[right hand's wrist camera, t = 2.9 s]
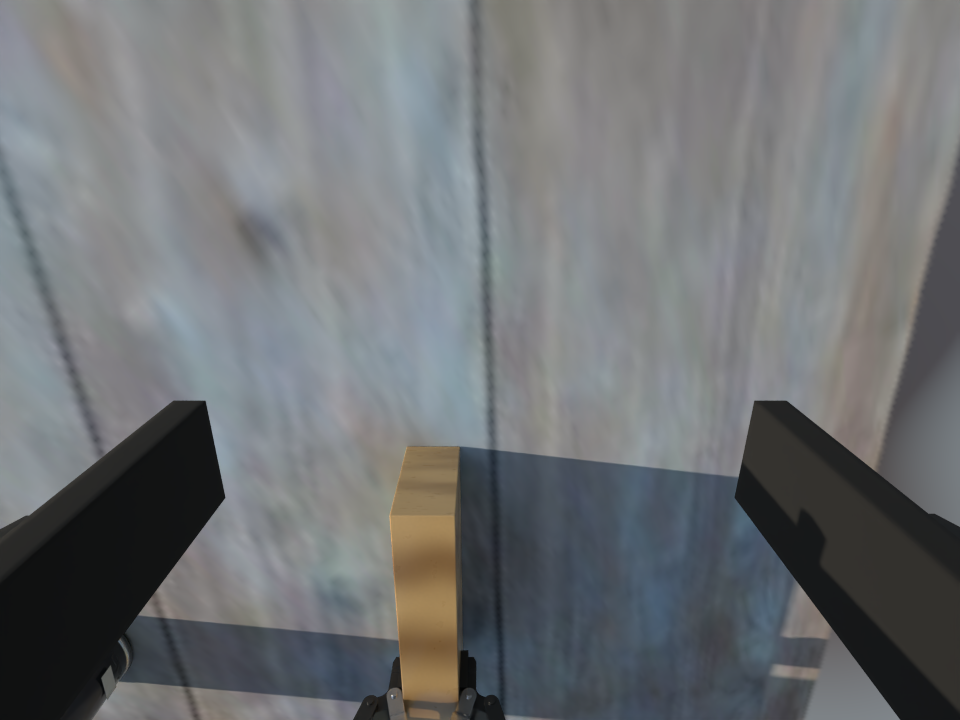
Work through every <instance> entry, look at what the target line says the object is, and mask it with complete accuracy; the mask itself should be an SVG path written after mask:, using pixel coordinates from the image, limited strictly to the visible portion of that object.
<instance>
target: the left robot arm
mask: <svg viewBox="0 0 960 720" xmlns="http://www.w3.org/2000/svg"><path fill="white" fill-rule="evenodd" d="M131 662H132V649H131V646H130V644H129V642H128V640H127V639H126V637H125V636H124V635H123V636H122V637H121V638H120V640H119V641H118V642H117V644H116V645H115V646H114V648H113V649H112V650H111V652H110V653H109V654H108V656H107V657H106V658H105V660H104V661H103V662H102V664H101V665H100V666H99V668H98V669H97V670H96V672H95V673H94V674H93V676H92V677H91V678H90V680H89V681H88V682H87V684H86V685H85V686H84V688H83V689H82V690H81V692H80V693H79V694H78V696H77V697H76V699H75V700H74V701H73V703H72V704H71V705H70V707H69V708H68V709H67V711H66V712H65V713H64V715H63V716H62V717H61V719H60V720H92V719H93V718H94V716H95V715H96V713H97V712H98V710H99V709H100V707H101V706H102V705H103V703H104V702H105V700H106V699H107V700H108V698H109V697H110V695H111V694H112V692H113V691H114V689H115V688H116V684H117V683H118V681H119V680H120V679H121V678H122V677H123V676H124V674H125V673H126V672H127V670H128V669H129V667H130V665H131ZM459 695H460V699H459V702H458V705H457V707H456V710H455V711H454V712H453V714H452V716H451V719H450V720H505V717H504V714H503V711H502V708H501V705H500V702H499V700H498V698H497V697H496V696H494V695H488V696H487V697H483V696H481V695H479V694H478V692H477V691H476V661H475V658H474V657H468V650H461V657H460V683H459ZM353 720H407V715H406V711H405V708H404V702H403V692H402V678H401V664H400V657H396V659H395V660H394V662H393V667H392V673H391V679H390V685H389V689H388V691H387V693H386V694H385V695H383V696H381V697H376V696H374V695H370V696H367V697H366V698H365V699H364V700H363V702H362V704H361V706H360V708H359V710H358V712H357V714H356V715H355V717H354V719H353Z"/></svg>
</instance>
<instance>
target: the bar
mask: <svg viewBox="0 0 960 720" xmlns="http://www.w3.org/2000/svg"><path fill="white" fill-rule="evenodd" d="M390 529H391V542H392V556H393V569H394V583H395V597H396V610H397V624H398V637H399V651H400V664H401V678H402V692H403V702H404V708H405V711H406V715H407V720H450V719H451V716H452V714H453V712H454V711H455V710H456V707H457V705H458V702H459V699H460V695H459V683H460V657H461V650H463V619H462V553H461V488H460V447H407V448H406V452H405V456H404V460H403V464H402V468H401V472H400V476H399V480H398V484H397V488H396V492H395V496H394V500H393V504H392V508H391V512H390Z"/></svg>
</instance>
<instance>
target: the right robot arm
mask: <svg viewBox="0 0 960 720" xmlns="http://www.w3.org/2000/svg"><path fill="white" fill-rule="evenodd" d="M224 499H225V493H224V489H223V484H222V479H221V474H220V469H219V464H218V459H217V454H216V450H215V445H214V440H213V435H212V430H211V425H210V420H209V415H208V411H207V406H206V401H173V402H171V403H170V404H169V405H168V406H166V407H165V408H164V409H162V410H161V411H160V412H159V413H157V414H156V415H155V416H154V417H152V418H151V419H150V420H149V421H147V422H146V423H145V424H144V425H142V426H141V427H140V428H139V429H137V430H136V431H135V432H134V433H132V434H131V435H130V436H129V437H127V438H126V439H125V440H124V441H122V442H121V443H120V444H119V445H117V446H116V447H115V448H114V449H112V450H111V451H110V452H109V453H107V454H106V455H105V456H104V457H102V458H101V459H100V460H99V461H97V462H96V463H95V464H93V465H92V466H91V467H90V468H88V469H87V470H86V471H85V472H83V473H82V474H81V475H80V476H78V477H77V478H76V479H75V480H73V481H72V482H71V483H70V484H68V485H67V486H66V487H65V488H63V489H62V490H61V491H60V492H58V493H57V494H56V495H55V496H53V497H52V498H51V499H50V500H48V501H47V502H46V503H45V504H43V505H42V506H41V507H40V508H38V509H37V510H36V511H35V512H33V513H32V514H31V515H30V516H25V517H23V518H21V519H19V520H17V521H15V522H13V523H11V524H9V525H8V526H6V527H4V528H2V529H0V720H60V719H61V717H62V716H63V715H64V713H65V712H66V711H67V709H68V708H69V707H70V705H71V704H72V703H73V701H74V700H75V699H76V697H77V696H78V694H79V693H80V692H81V690H82V689H83V688H84V686H85V685H86V684H87V682H88V681H89V680H90V678H91V677H92V676H93V674H94V673H95V672H96V670H97V669H98V668H99V666H100V665H101V664H102V662H103V661H104V660H105V658H106V657H107V656H108V654H109V653H110V652H111V650H112V649H113V648H114V646H115V645H116V644H117V642H118V641H119V640H120V638H121V637H122V636H123V634H124V633H125V632H126V630H127V629H128V627H129V626H130V625H131V623H132V622H133V621H134V619H135V618H136V617H137V615H138V614H139V613H140V611H141V610H142V609H143V607H144V606H145V605H146V603H147V602H148V601H149V599H150V598H151V597H152V595H153V594H154V593H155V591H156V590H157V589H158V587H159V586H160V585H161V583H162V582H163V581H164V579H165V578H166V577H167V575H168V574H169V573H170V571H171V570H172V569H173V567H174V566H175V564H176V563H177V562H178V560H179V559H180V558H181V556H182V555H183V554H184V552H185V551H186V550H187V548H188V547H189V546H190V544H191V543H192V542H193V540H194V539H195V538H196V536H197V535H198V534H199V532H200V531H201V530H202V528H203V527H204V526H205V524H206V523H207V522H208V520H209V519H210V518H211V516H212V515H213V514H214V512H215V511H216V510H217V508H218V507H219V506H220V504H221V503H222V502H223V500H224ZM735 499H736V500H737V502H738V503H739V504H740V506H741V507H742V508H743V510H744V511H745V512H746V514H747V515H748V516H749V518H750V519H751V520H752V522H753V523H754V524H755V526H756V527H757V528H758V530H759V531H760V532H761V534H762V535H763V536H764V538H765V539H766V540H767V542H768V543H769V544H770V546H771V547H772V548H773V550H774V551H775V552H776V554H777V555H778V556H779V558H780V559H781V560H782V562H783V563H784V565H785V566H786V567H787V569H788V570H789V571H790V573H791V574H792V575H793V577H794V578H795V579H796V581H797V582H798V583H799V585H800V586H801V587H802V589H803V590H804V591H805V593H806V594H807V595H808V597H809V598H810V599H811V601H812V602H813V603H814V605H815V606H816V607H817V609H818V610H819V611H820V613H821V614H822V615H823V617H824V618H825V619H826V621H827V622H828V623H829V625H830V626H831V627H832V629H833V630H834V632H835V633H836V634H837V636H838V637H839V638H840V640H841V641H842V642H843V644H844V645H845V646H846V648H847V649H848V650H849V652H850V653H851V654H852V656H853V657H854V658H855V660H856V661H857V662H858V664H859V665H860V666H861V668H862V669H863V670H864V672H865V673H866V674H867V676H868V677H869V678H870V680H871V681H872V682H873V684H874V685H875V686H876V688H877V689H878V690H879V692H880V693H881V694H882V696H883V697H884V699H885V700H886V701H887V702H888V704H889V705H890V707H891V708H892V709H893V711H894V712H895V713H896V715H897V716H898V717H899V719H900V720H960V527H959V526H957V525H955V524H953V523H951V522H949V521H947V520H945V519H943V518H942V517H940V516H938V515H936V514H928V513H927V512H925V511H924V510H923V509H922V508H920V507H919V506H918V505H917V504H915V503H914V502H913V501H912V500H910V499H909V498H908V497H907V496H905V495H904V494H903V493H902V492H900V491H899V490H898V489H897V488H895V487H894V486H893V485H892V484H890V483H889V482H888V481H887V480H885V479H884V478H883V477H882V476H880V475H879V474H878V473H877V472H875V471H874V470H873V469H872V468H870V467H869V466H868V465H867V464H865V463H864V462H863V461H861V460H860V459H859V458H858V457H856V456H855V455H854V454H853V453H851V452H850V451H849V450H848V449H846V448H845V447H844V446H843V445H841V444H840V443H839V442H838V441H836V440H835V439H834V438H833V437H831V436H830V435H829V434H828V433H826V432H825V431H824V430H823V429H821V428H820V427H819V426H818V425H816V424H815V423H814V422H813V421H811V420H810V419H809V418H808V417H806V416H805V415H804V414H803V413H801V412H800V411H799V410H798V409H796V408H795V407H794V406H792V405H791V404H790V403H789V402H787V401H754V406H753V411H752V415H751V420H750V425H749V430H748V435H747V440H746V445H745V450H744V454H743V459H742V464H741V469H740V474H739V479H738V484H737V489H736V493H735Z"/></svg>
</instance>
